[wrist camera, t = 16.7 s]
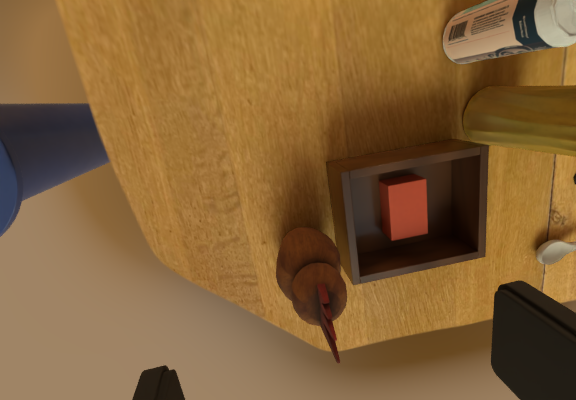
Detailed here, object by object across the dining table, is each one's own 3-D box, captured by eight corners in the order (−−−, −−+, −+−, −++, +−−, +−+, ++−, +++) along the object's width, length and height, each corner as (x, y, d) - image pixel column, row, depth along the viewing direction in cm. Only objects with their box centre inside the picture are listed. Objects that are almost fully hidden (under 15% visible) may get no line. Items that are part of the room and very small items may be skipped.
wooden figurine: (316, 277, 38) (360, 384, 23) (267, 269, 36) (283, 376, 22) (333, 223, 36) (392, 303, 22) (283, 213, 35) (310, 289, 21)
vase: (518, 83, 34) (699, 71, 21) (511, 142, 36) (673, 166, 22) (464, 88, 34) (613, 78, 20) (459, 147, 35) (594, 176, 22)
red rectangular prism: (416, 225, 36) (428, 233, 34) (382, 232, 36) (391, 241, 34) (414, 173, 35) (426, 178, 32) (378, 180, 34) (388, 185, 32)
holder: (338, 260, 37) (353, 285, 32) (326, 162, 34) (340, 172, 29) (453, 236, 38) (485, 256, 33) (453, 138, 35) (489, 144, 30)
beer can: (455, 75, 33) (567, 61, 22) (430, 36, 32) (535, -2, 20) (493, 41, 33) (628, 7, 21) (469, -1, 31) (599, -60, 20)
